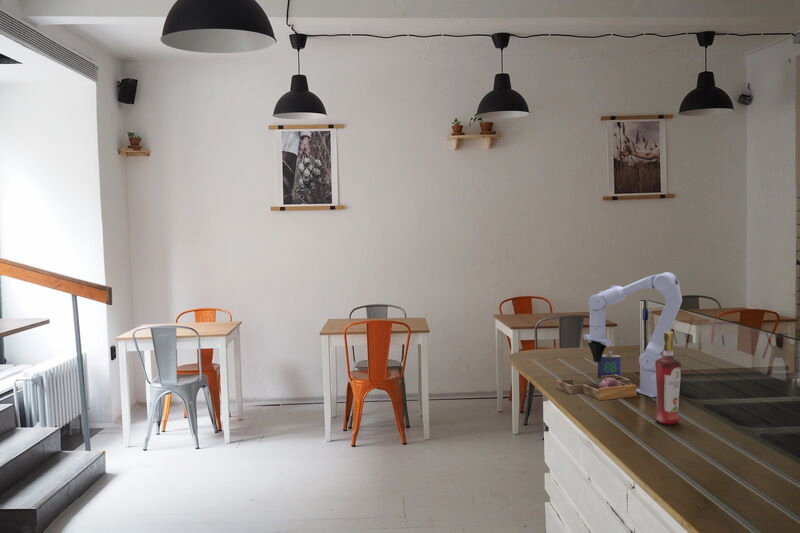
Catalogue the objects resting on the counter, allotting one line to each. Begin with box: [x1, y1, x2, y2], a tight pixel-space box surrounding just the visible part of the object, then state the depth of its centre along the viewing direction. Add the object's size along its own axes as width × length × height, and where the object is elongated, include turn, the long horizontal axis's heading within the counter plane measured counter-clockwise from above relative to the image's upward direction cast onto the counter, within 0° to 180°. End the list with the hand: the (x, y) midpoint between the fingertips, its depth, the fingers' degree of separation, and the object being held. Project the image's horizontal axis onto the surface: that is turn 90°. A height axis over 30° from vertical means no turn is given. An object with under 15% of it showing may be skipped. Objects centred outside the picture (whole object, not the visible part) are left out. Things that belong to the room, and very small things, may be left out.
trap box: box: [555, 374, 638, 401], centre depth 230 cm, size 20×26×4 cm
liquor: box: [655, 331, 682, 426], centre depth 193 cm, size 7×7×28 cm
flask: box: [597, 351, 622, 380], centre depth 250 cm, size 9×3×11 cm, turn 88°
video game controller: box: [598, 377, 622, 388], centre depth 227 cm, size 10×5×7 cm, turn 133°
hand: (597, 361), depth 238 cm, fingers closed
